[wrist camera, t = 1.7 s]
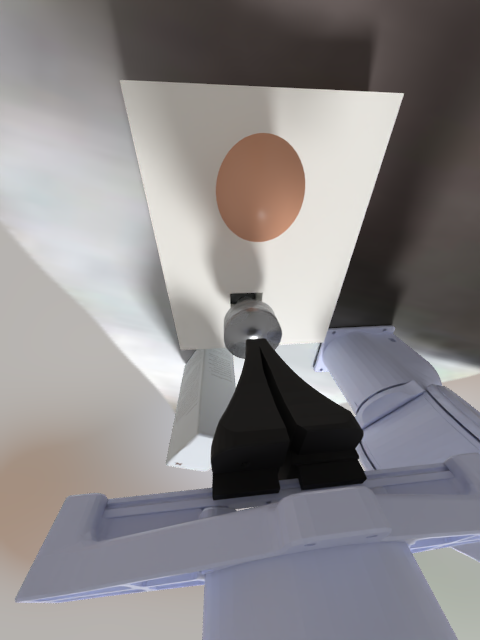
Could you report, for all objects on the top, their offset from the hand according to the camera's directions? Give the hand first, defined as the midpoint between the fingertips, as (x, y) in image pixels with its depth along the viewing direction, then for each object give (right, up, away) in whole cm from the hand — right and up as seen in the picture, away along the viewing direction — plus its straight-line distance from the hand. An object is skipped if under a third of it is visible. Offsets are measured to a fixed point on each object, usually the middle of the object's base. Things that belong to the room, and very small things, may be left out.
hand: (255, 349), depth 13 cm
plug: (-1, +4, +5) cm, 7 cm away
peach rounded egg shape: (-1, +11, 0) cm, 11 cm away
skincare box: (-5, -3, +13) cm, 14 cm away
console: (0, +9, +5) cm, 11 cm away
